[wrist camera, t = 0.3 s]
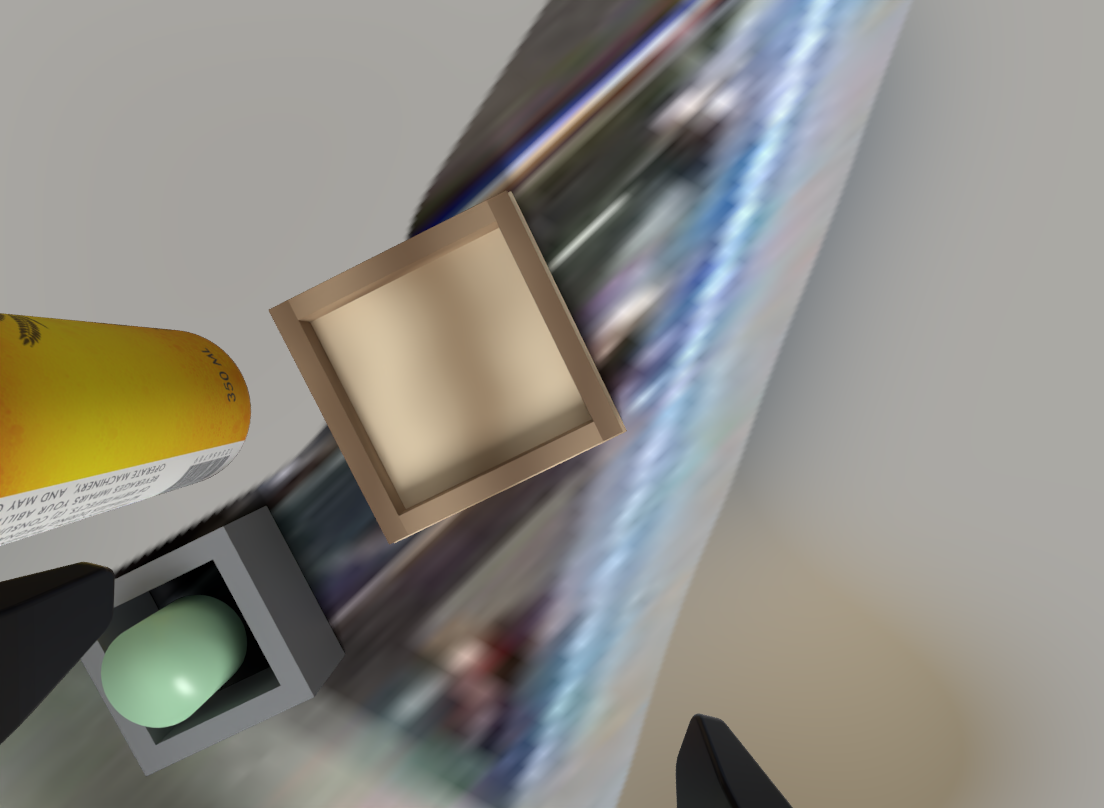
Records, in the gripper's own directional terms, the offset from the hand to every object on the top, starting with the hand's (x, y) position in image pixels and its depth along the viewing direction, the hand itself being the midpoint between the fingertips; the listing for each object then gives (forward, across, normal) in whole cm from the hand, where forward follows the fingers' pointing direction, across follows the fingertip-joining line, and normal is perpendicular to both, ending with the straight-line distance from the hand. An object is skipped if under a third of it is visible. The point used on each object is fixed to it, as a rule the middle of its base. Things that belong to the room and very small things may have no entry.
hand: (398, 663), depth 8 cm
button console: (+12, +10, +11) cm, 19 cm away
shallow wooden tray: (+15, +3, -1) cm, 15 cm away
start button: (+10, +10, +11) cm, 18 cm away
